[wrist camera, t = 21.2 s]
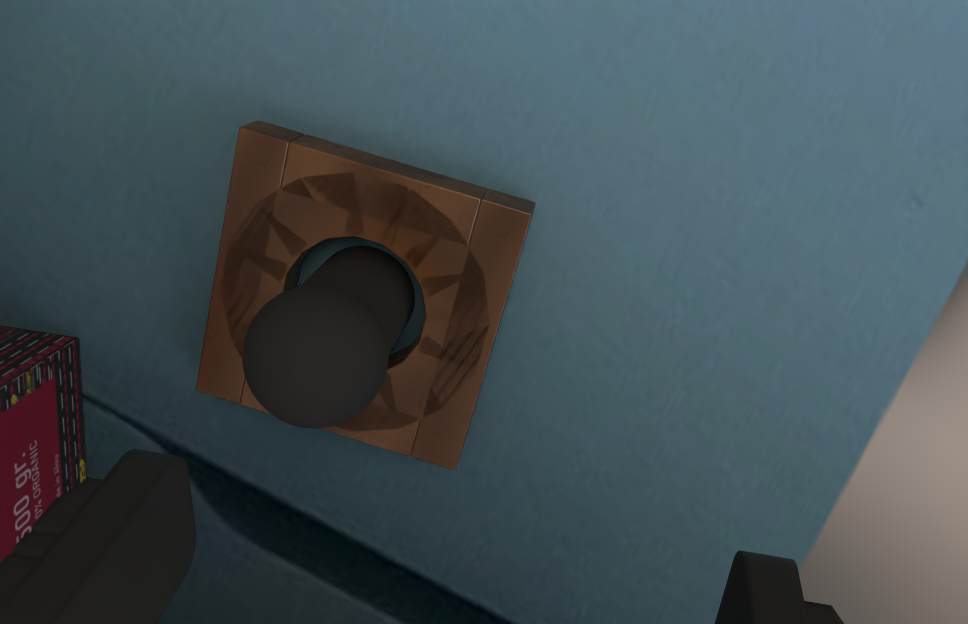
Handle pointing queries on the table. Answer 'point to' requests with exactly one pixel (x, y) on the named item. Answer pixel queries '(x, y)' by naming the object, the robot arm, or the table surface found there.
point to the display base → (403, 230)
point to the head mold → (329, 339)
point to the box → (37, 427)
